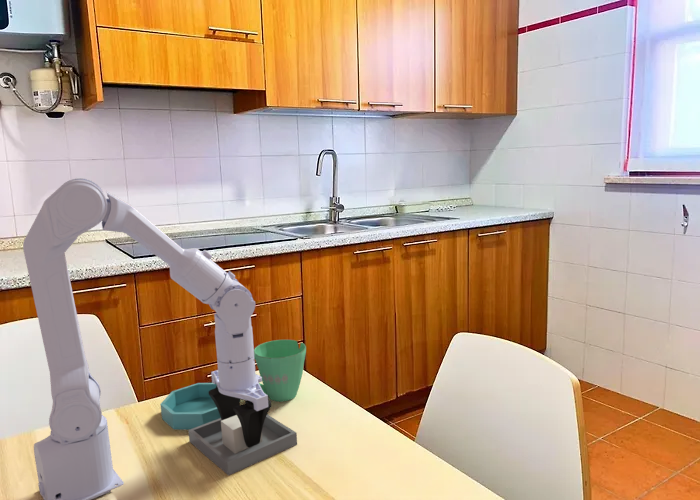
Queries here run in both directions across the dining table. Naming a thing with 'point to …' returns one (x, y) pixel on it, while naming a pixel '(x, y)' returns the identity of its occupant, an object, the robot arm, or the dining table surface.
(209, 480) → the dining table surface
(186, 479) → the dining table surface
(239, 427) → the off-white smooth cube
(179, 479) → the dining table surface
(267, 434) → the parts tray
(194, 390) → the bowl
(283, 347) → the mug
